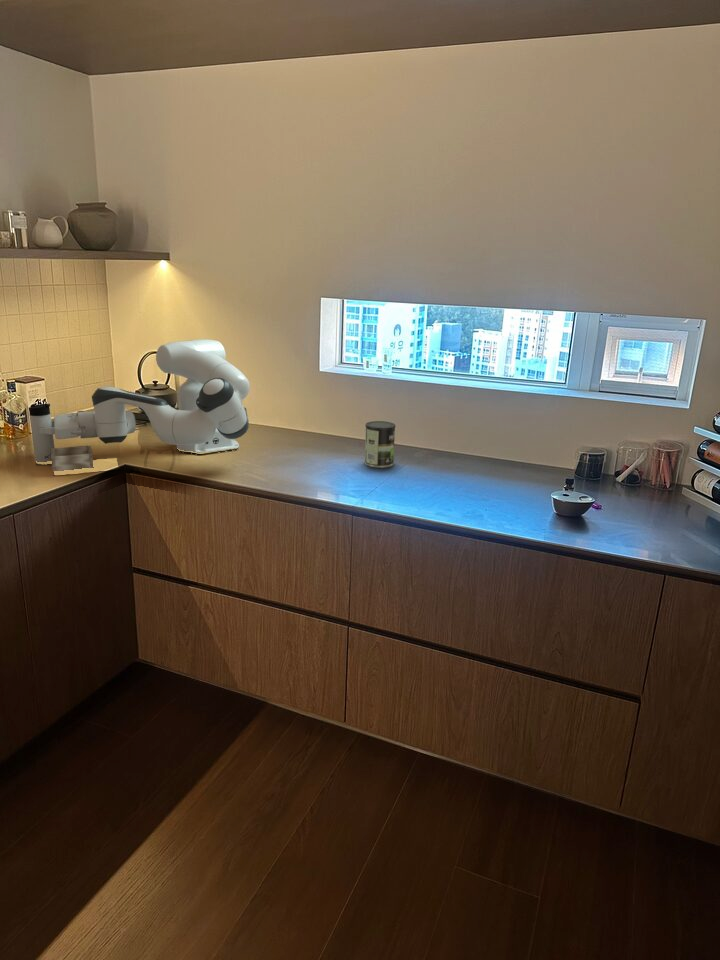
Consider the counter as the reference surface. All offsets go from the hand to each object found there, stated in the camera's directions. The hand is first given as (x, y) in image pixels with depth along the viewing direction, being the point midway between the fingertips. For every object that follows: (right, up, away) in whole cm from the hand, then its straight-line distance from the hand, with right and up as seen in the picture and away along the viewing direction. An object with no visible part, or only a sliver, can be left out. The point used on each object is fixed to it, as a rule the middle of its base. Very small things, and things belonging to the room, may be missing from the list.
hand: (39, 428), depth 221 cm
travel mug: (0, -12, +4) cm, 12 cm away
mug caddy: (+16, -13, 0) cm, 20 cm away
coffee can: (+112, -12, +14) cm, 114 cm away
